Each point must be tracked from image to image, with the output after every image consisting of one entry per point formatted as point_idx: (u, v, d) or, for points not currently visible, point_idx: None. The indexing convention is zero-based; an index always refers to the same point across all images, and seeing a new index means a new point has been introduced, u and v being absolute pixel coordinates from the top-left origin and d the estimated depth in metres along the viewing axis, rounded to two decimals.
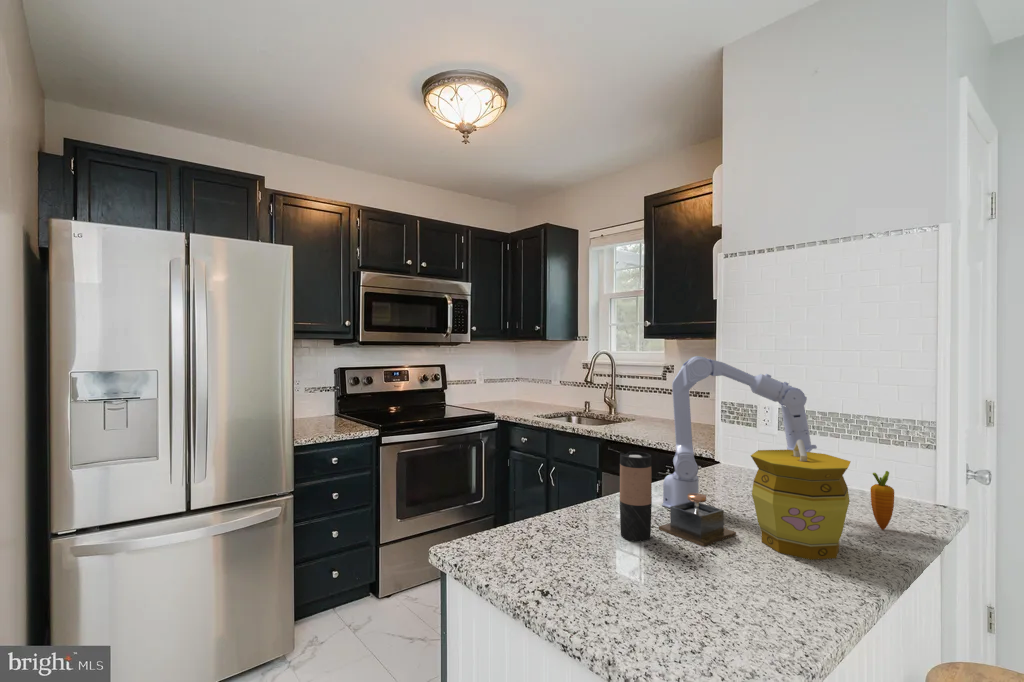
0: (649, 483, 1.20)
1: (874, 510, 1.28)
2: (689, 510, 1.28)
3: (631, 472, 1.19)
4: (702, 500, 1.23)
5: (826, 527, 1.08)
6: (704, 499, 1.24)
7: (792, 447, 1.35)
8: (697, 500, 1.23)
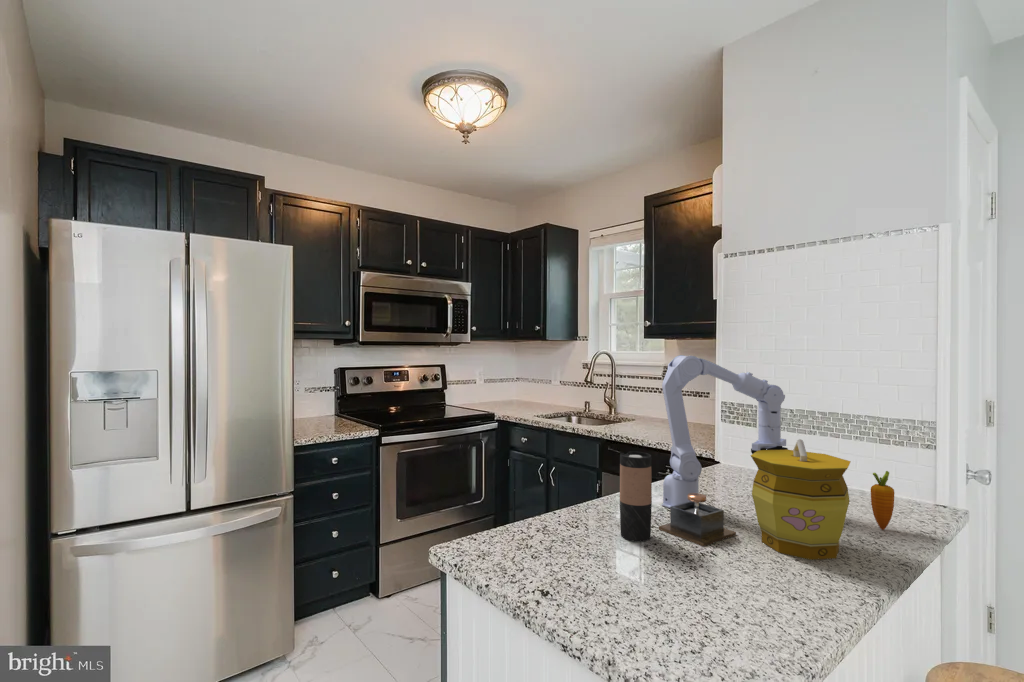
0: (649, 483, 1.20)
1: (874, 510, 1.28)
2: (689, 510, 1.28)
3: (631, 472, 1.19)
4: (702, 500, 1.23)
5: (826, 527, 1.08)
6: (704, 499, 1.24)
7: (758, 439, 1.44)
8: (697, 500, 1.23)
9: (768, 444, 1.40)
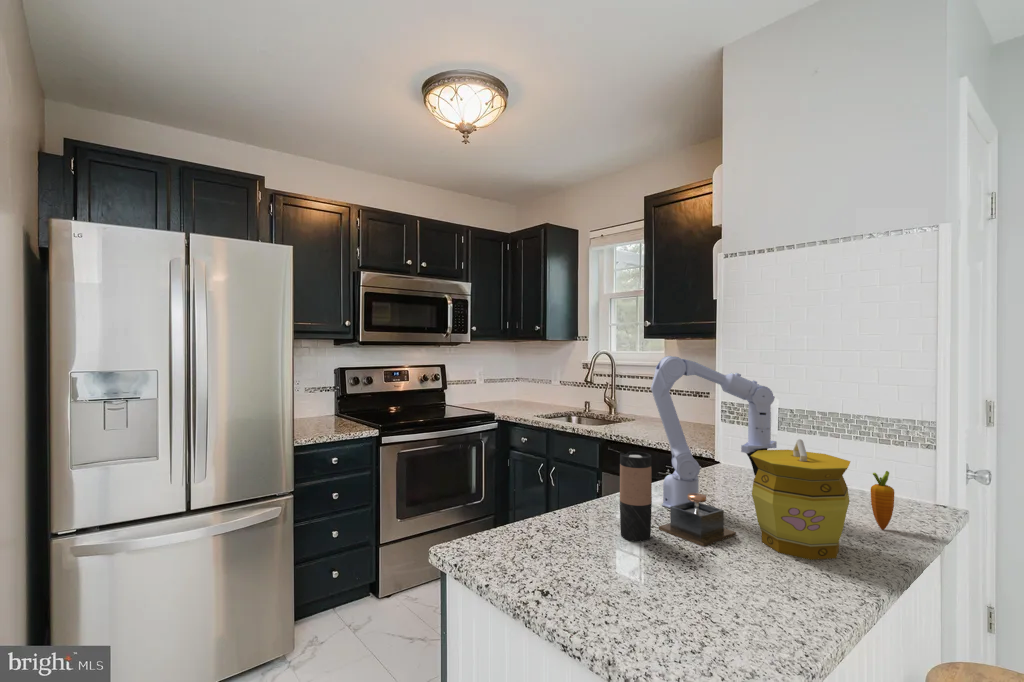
0: (649, 483, 1.20)
1: (874, 510, 1.28)
2: (689, 510, 1.28)
3: (631, 472, 1.19)
4: (702, 500, 1.23)
5: (826, 527, 1.08)
6: (704, 499, 1.24)
7: (748, 441, 1.41)
8: (697, 500, 1.23)
9: (758, 446, 1.37)
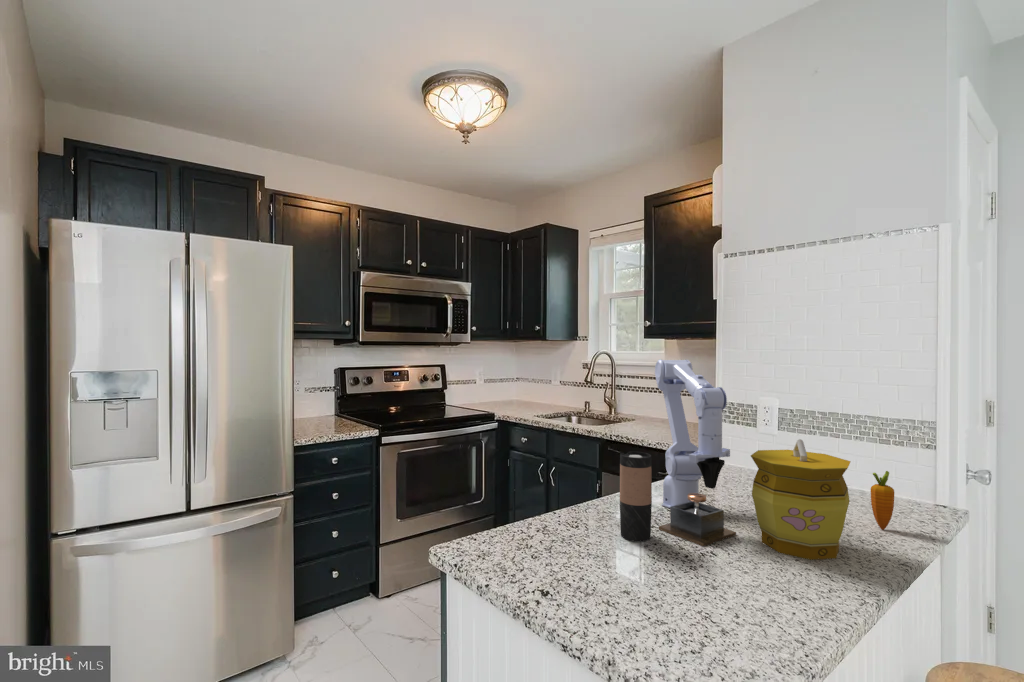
0: (649, 483, 1.20)
1: (874, 510, 1.28)
2: (689, 510, 1.28)
3: (631, 472, 1.19)
4: (702, 500, 1.23)
5: (826, 527, 1.08)
6: (704, 499, 1.24)
7: (698, 450, 1.29)
8: (697, 500, 1.23)
9: (707, 455, 1.25)
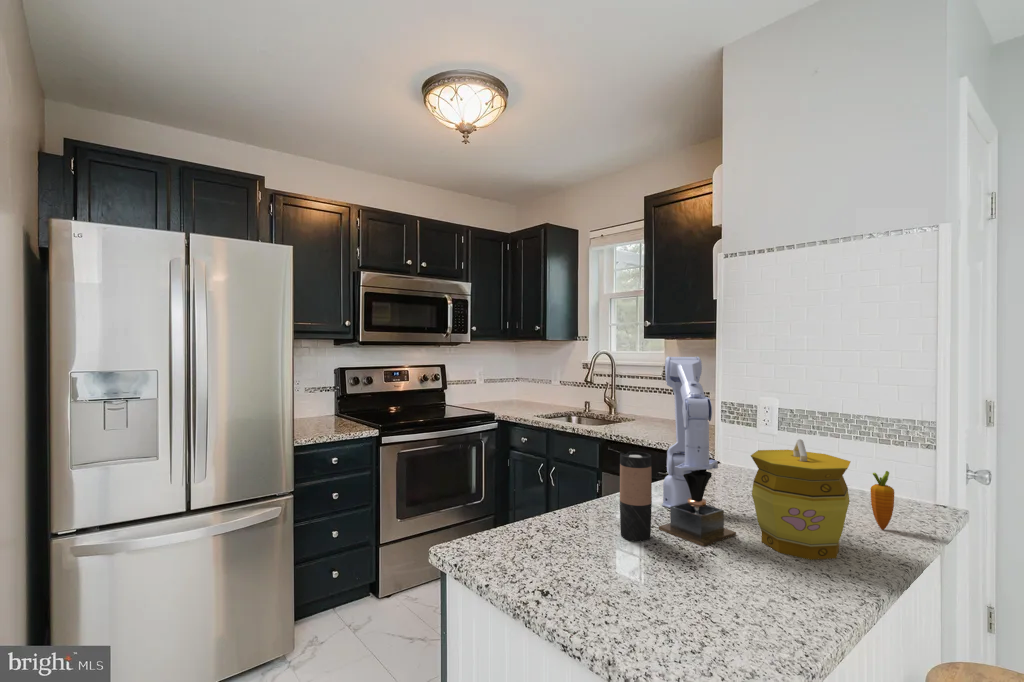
0: (649, 483, 1.20)
1: (874, 510, 1.28)
2: None
3: (631, 472, 1.19)
4: (702, 505, 1.23)
5: (826, 527, 1.08)
6: (704, 504, 1.24)
7: (685, 462, 1.26)
8: (697, 505, 1.23)
9: (693, 468, 1.22)
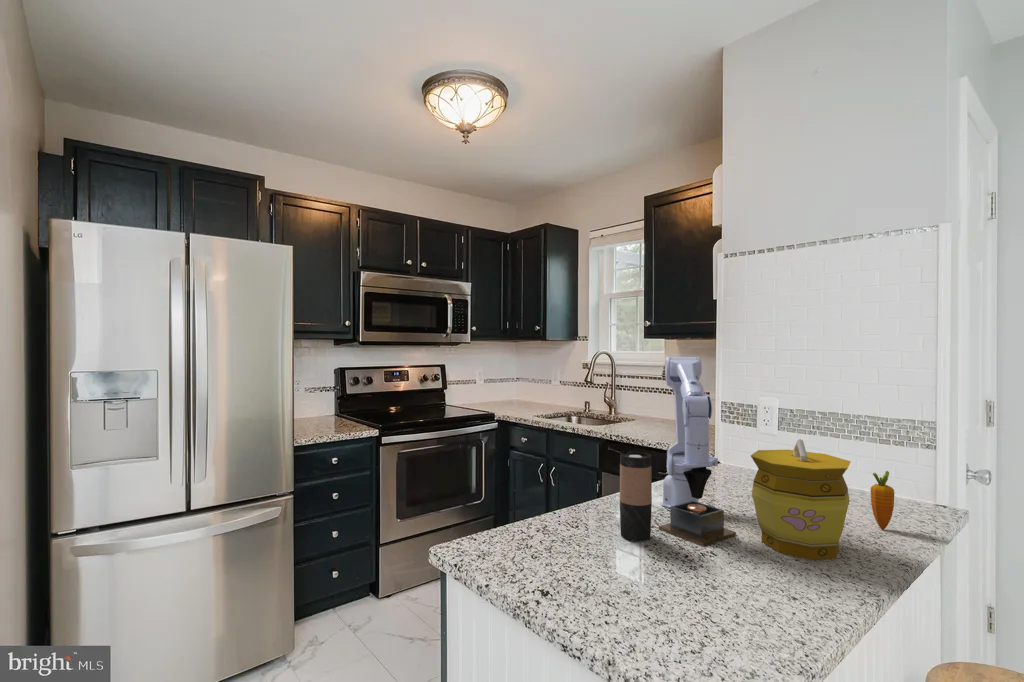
0: (649, 483, 1.20)
1: (874, 510, 1.28)
2: None
3: (631, 472, 1.19)
4: (702, 511, 1.23)
5: (826, 527, 1.08)
6: (704, 510, 1.24)
7: (685, 459, 1.26)
8: (697, 511, 1.23)
9: (693, 465, 1.22)
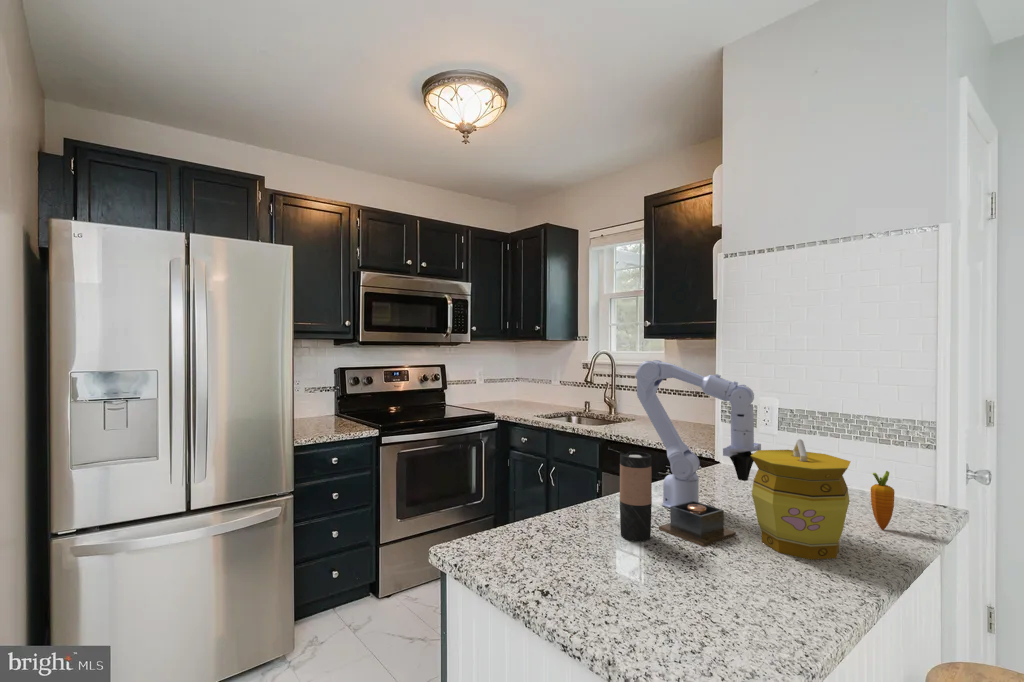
0: (649, 483, 1.20)
1: (874, 510, 1.28)
2: None
3: (631, 472, 1.19)
4: (702, 511, 1.23)
5: (826, 527, 1.08)
6: (704, 510, 1.24)
7: (731, 444, 1.37)
8: (697, 511, 1.23)
9: (740, 449, 1.32)
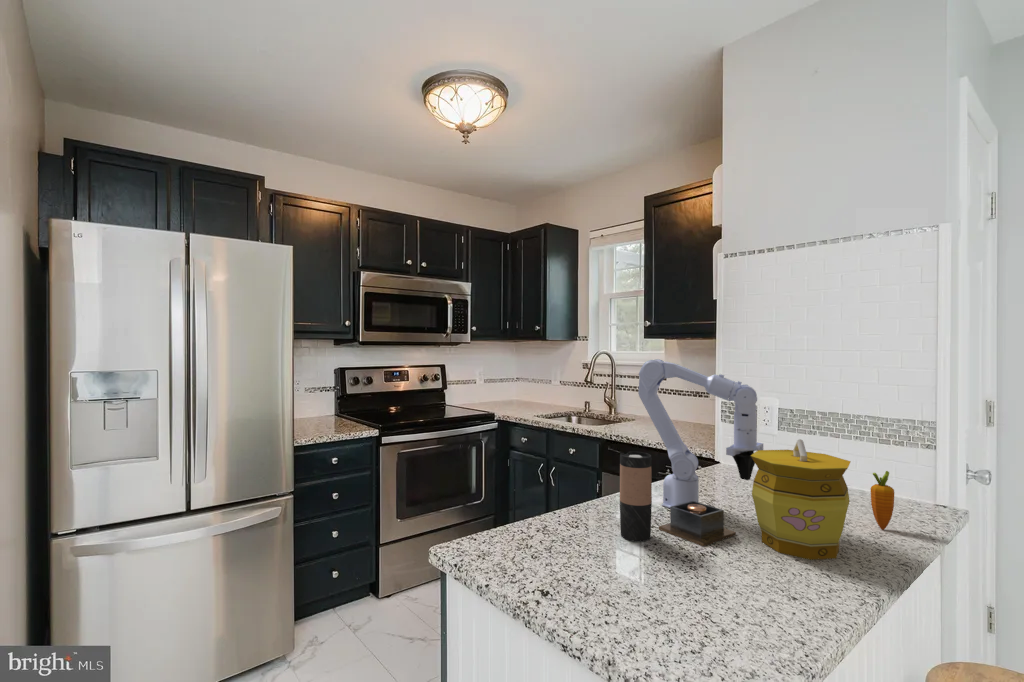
0: (649, 483, 1.20)
1: (874, 510, 1.28)
2: None
3: (631, 472, 1.19)
4: (702, 511, 1.23)
5: (826, 527, 1.08)
6: (704, 510, 1.24)
7: (734, 444, 1.38)
8: (697, 511, 1.23)
9: (743, 449, 1.33)
